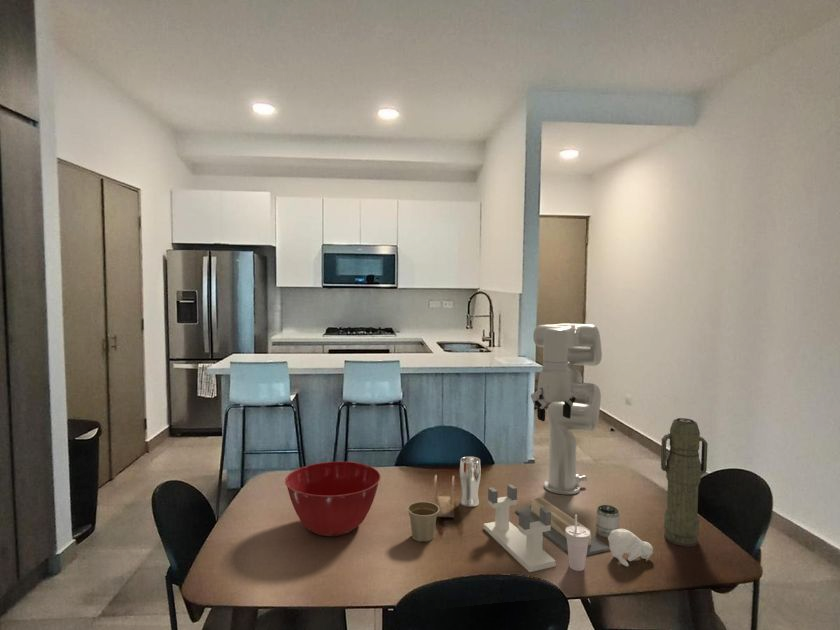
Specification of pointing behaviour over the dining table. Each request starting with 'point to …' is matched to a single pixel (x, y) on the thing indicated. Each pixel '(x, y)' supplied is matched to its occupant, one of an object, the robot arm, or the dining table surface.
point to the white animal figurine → (628, 546)
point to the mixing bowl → (332, 495)
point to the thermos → (683, 481)
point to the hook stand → (519, 531)
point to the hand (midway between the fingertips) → (554, 418)
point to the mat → (562, 540)
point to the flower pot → (423, 520)
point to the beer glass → (470, 480)
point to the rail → (555, 516)
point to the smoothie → (577, 545)
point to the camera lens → (607, 520)
